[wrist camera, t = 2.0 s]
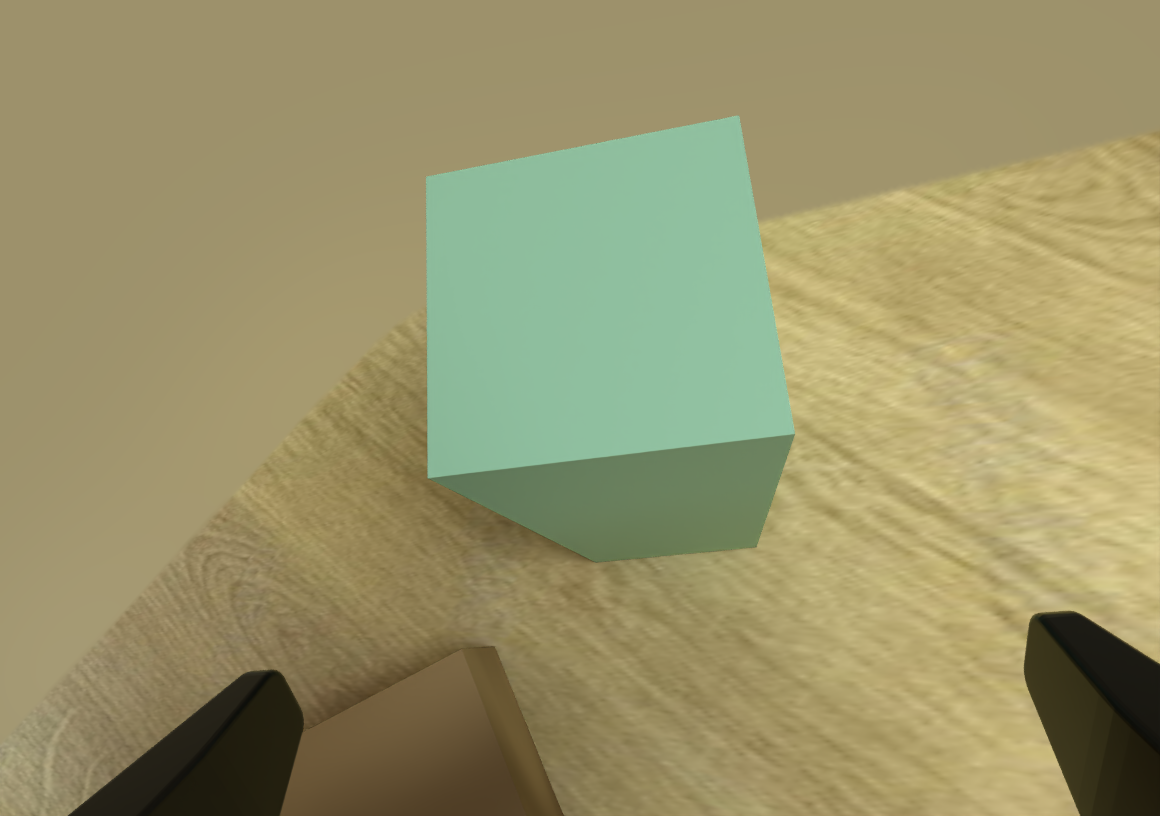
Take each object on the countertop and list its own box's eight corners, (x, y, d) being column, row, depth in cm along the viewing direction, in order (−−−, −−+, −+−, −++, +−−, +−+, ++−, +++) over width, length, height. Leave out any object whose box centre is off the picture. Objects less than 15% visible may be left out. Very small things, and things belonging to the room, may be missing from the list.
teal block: (756, 547, 19) (795, 434, 8) (595, 562, 20) (426, 477, 9) (733, 393, 21) (738, 115, 10) (583, 412, 21) (425, 176, 10)
